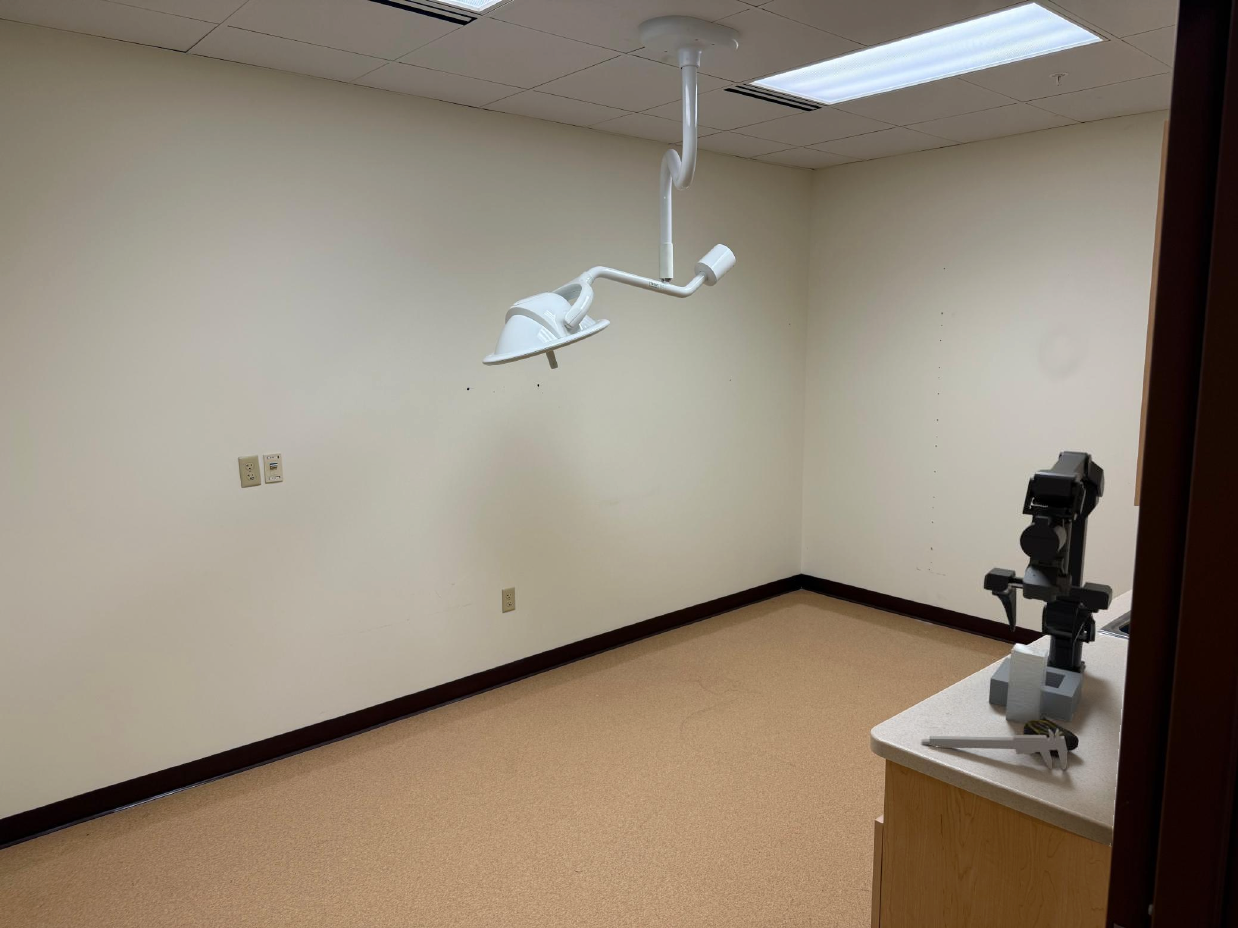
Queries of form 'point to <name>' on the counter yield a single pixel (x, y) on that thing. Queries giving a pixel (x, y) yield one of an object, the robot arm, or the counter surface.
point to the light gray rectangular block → (1026, 683)
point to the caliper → (1009, 744)
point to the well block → (1058, 690)
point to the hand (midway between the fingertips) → (1042, 636)
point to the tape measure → (1042, 729)
